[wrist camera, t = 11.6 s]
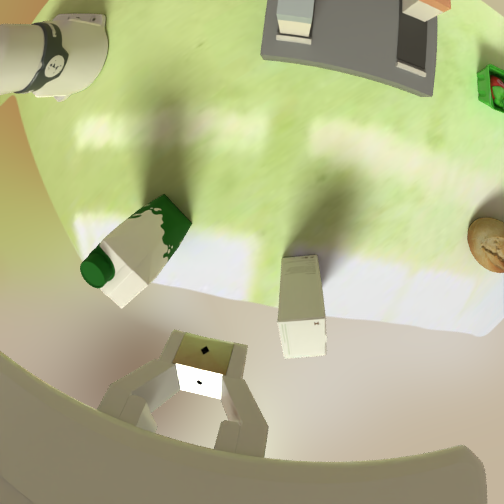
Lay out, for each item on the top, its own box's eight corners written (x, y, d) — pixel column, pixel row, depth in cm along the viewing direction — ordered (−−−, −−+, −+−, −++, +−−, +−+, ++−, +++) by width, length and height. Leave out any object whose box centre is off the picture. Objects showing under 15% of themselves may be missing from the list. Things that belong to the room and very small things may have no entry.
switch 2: (402, 12, 21) (424, -5, 14) (402, -3, 19) (423, -22, 13) (424, 21, 21) (450, 8, 14) (424, 6, 19) (449, -9, 12)
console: (263, 59, 32) (259, 53, 28) (275, -34, 23) (273, -48, 19) (420, 96, 30) (434, 96, 26) (426, 4, 21) (438, -4, 17)
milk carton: (164, 186, 44) (92, 241, 27) (199, 224, 47) (148, 298, 29) (136, 217, 48) (69, 277, 30) (169, 251, 50) (116, 324, 33)
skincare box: (281, 256, 47) (274, 319, 34) (319, 253, 46) (327, 315, 33) (287, 294, 51) (281, 360, 38) (322, 292, 50) (327, 357, 36)
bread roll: (498, 263, 41) (516, 285, 34) (454, 250, 41) (473, 274, 35) (515, 224, 36) (536, 242, 29) (473, 204, 36) (496, 223, 30)
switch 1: (280, 33, 26) (276, 14, 19) (282, 14, 25) (279, -8, 18) (308, 36, 26) (312, 18, 19) (310, 18, 24) (314, -4, 18)
